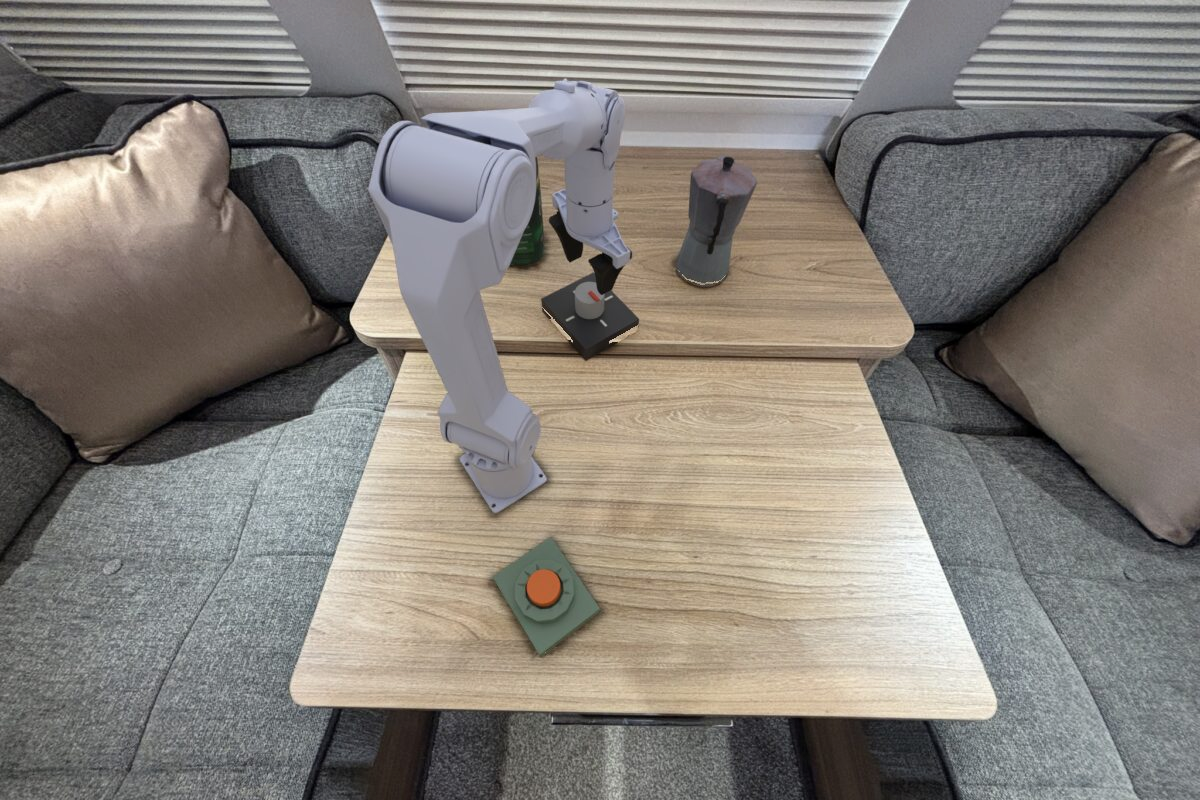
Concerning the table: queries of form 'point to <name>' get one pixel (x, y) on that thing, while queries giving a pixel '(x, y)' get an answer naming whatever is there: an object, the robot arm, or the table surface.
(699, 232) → the moka pot
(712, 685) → the table surface
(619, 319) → the dial panel
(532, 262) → the coffee jar
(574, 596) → the base
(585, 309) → the temp dial
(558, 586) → the power button
